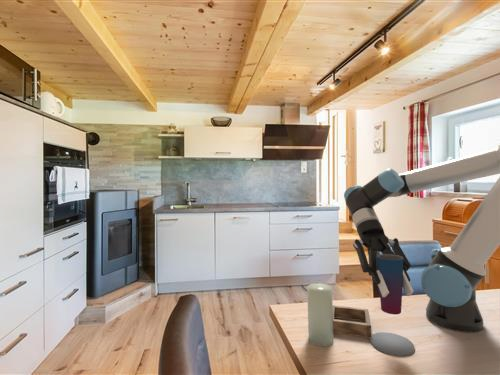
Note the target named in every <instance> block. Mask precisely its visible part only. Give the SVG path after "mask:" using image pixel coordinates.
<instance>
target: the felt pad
mask: <svg viewBox="0 0 500 375" xmlns="http://www.w3.org/2000/svg"><path fill="white" fill-rule="evenodd" d="M369 339H370V340H369V341H370V344H371V345H372V347H373V348H375V349H377V350H378V351H380V352H381V353H385V354H387V355H390V356H396V357H406V356H407V357H408V356H411V355H412V354H414V352H415V344H414V343H413V342H412V341H411V340H409V339H408V338H406V337H405V336H403V335H400V334H396V333H394V332H393V333H392V332H385V331H383V332H380V331H379V332H375V333H372V334H371V338H369Z"/></svg>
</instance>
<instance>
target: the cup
mask: <svg viewBox="0 0 500 375" xmlns="http://www.w3.org/2000/svg"><path fill="white" fill-rule="evenodd" d="M403 259H404V258H403V257H402V256H398V255H392V254H382V253H381V254H377V255H376V269H377V270H379V271H380V273H381V274H382V277H383V279H384V281H385V284H386V286H387V289H388V291H389V293H388V295H387V296H386V297H382V294H381V291H380V289H379V288H378V289H379V297H380V298H379V300H380V309H381V311H382V312H383V313H386V314H389V315H400V314H401V313H402V306H403V305H402V302H403V300H402V299H403V287H402V282H403Z"/></svg>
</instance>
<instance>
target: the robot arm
mask: <svg viewBox="0 0 500 375" xmlns="http://www.w3.org/2000/svg"><path fill="white" fill-rule="evenodd" d="M499 174H500V143H499V144H498V145H497V146H496V147H495V148H493V149H489V150H485V151H481V152H477V153H474V154H470V155H466V156H462V157H459V158H455V159H452V160H451V159H450V160H447V161H444V162H439V163H435V164H432V165H429V166H425V167H422V168H417V169H413V170H411V171H406V172H402V173H398V172H397V171H396V170H394V169H393V168H387V169H386V170H384V171H382V172H380V173H379V174H378V175H377V176H375V177H374V178H372V179H371V180H370V181H368V182H367V183H366V184H364V185H363V186H361V185H358V184H357V185H353V186H350V187H348V188H347V189H346V190H345V191H344V193H343V197H344V202H345V206H346V207H347V209H348V211H349V214H350V215H351V218H352V221H353V224H354V227H355V229H356V232H357V234H358V236H359V237H358V238H359V239H357V238H356V239H355V240H354V242H353V244H352V246H353V248H354V249H355V250H356V254H357V257H358V260H359V263H360V268H361V271H362V272H363V273H368V276H370V277H371V278H372V280H373V283H374V285H377V286H378V289H380V290H379V292H380V291H381V294H382V297H386V296H387V295H388V293H389V291H388V289H387V286H386V284H385V281H384V279H383V277H382V274H381V273H380V271H379V270H378V269H377V257H376V256H377V255H376V252H380V253H381V254H392V255H398V256H402V257H403V258H404V259H403V282H402V290H403V291H404V294H405V295H406V297H410V296H411V295H413V293H414V289H413V287H412V284H411V283H410V282H411V278H410V276H409V274H408V272H407V271H409V270H410V268H411V267H412V265H411V263H410V261H409V259H408V258H407V256H406V254H405V252H404V251H403V249H402V248H401V246H400V243H399V239H398V238H396V237H395V238H393V239H392V238H389V237H388V236H387V235H386V234H385V230H384V227H383V225H382V224H381V221H380V219H379V217H378V215H377V213H376V211H375V209H374V207H375V206H377V205H379V204H380V203H381V202H383V201H384V200H386V199H388V198H393V197H394V198H397V197H401V196H404V195H408V194H412V193H417V192H421V191H426V190H431V189H435V188H440V187H445V186H449V185H454V184H459V183H464V182H469V181H472V180H476V179H482V178H485V177H490V176H495V175H499ZM458 233H459V234H457V236H456V237H455V239H454V240H453V242H452V243H451V244H450V245H449V246H444V247H441V248H433V249H432V250H431V253H430V258H431V261H430V263H429V264H428V266H427V267H425V269H424V270H422V272H421V277H420V284H421V288H422V290H423V292H424V294H426V297H428V298H429V300H428V303H427V305H426V309H425V316H426V318H427V320H429V321H430V322H432V323H433V324H435V325H437V326H438V327H442V328H444V329H448V330H451V331H456V332H461V333H462V332H464V333H476V332H477V333H478V332H481V331H483V330H484V327H485V326H484V318H483V315H482V313H481V310H480V309H479V305H478V303H477V295H476V294H477V293H476V292H477V291H476V289H477V286H479V284H480V282H482V280H483V279H484V278H485V276H486V274H487V271H486V269H485V264H487V262H488V261H489V259H491V257H492V255H494V253H495V252H496V251H497V249H498V248H499V247H500V176H499V177H498V178H497V180H496V182H495V183H494V184H493V186H492V187H491V188H490V189H489V191H488V192H487V194H486V195H485V197H484V198H483V200H482V201H481V202H480V203H479V205H478V207H477V208H476V209H475V210H474V212H473V213H472V215H471V216H470V218H469V219H468V220H467V222H466V223H465V225H464V226H463V227H462V229H461V230H460V232H458ZM364 247H365V248H366V249H367V255H368V258H367V255H366V252H365V249H364Z"/></svg>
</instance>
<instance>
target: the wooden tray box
mask: <svg viewBox="0 0 500 375" xmlns="http://www.w3.org/2000/svg"><path fill="white" fill-rule="evenodd" d="M369 311H370V310H369V309H368V308H360V307H350V306H343V305H342V306H341V305H334V304H333V334H334V333H336V334H343V335H348V336H349V335H350V336H357V337H364V338H369V339H370V338H371V336H372V323H371V318H370V312H369ZM336 318H339V319H336ZM341 319H343V320H341ZM344 319H346V320H344ZM351 320H352V321H351ZM353 320H354V321H353ZM358 321H360V322H358ZM361 321H363V322H361Z"/></svg>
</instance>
